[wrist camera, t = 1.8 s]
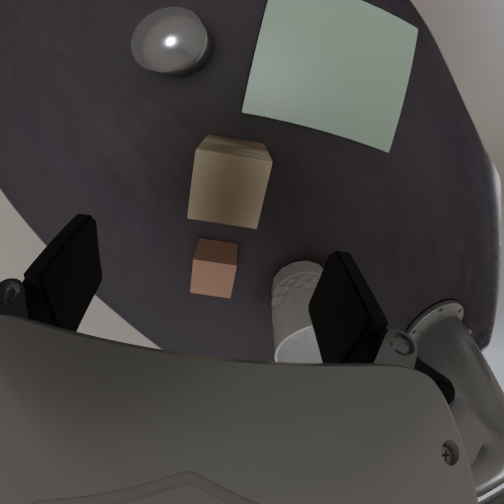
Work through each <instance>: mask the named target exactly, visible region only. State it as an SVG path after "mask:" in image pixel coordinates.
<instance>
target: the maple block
mask: <svg viewBox="0 0 504 504" xmlns="http://www.w3.org/2000/svg"><path fill="white" fill-rule="evenodd" d="M272 163H273V162H272V160H271V158H270V155H269V153H268V151H267V149H266V147H265V144H262V143H257V142H252V141H247V140H241V139H235V138H229V137H223V136H216V135H209V134H208V135H207V136H206V138H205V139H204V140H203V141H202V142H201V144H200V145H199V146H198V147H197V149H196V152H195V159H194V166H193V174H192V181H191V189H190V198H189V207H188V216H187V218H188V219H195V220H202V221H208V222H215V223H221V224H228V225H234V226H240V227H247V228H253V229H257V226H258V222H259V218H260V213H261V209H262V205H263V201H264V196H265V192H266V188H267V184H268V180H269V175H270V171H271V167H272Z"/></svg>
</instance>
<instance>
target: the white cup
mask: <svg viewBox="0 0 504 504" xmlns="http://www.w3.org/2000/svg"><path fill="white" fill-rule="evenodd" d="M323 269H324V268H323V267H322V266H321V265H320V264H317V263H314V262H311V261H298V262H293V263H291V264H289V265H287V266H285V267H283V268H281V269H280V271H279V272H278V273H277V274H276V275H275V276H274V278H273V282H272V287H271V293H272V325H273V340H274V358H275V362H293V363H323V362H322V359H321V355H320V351H319V347H318V344H317V340H316V336H315V333H314V329H313V325H312V322H311V318H310V315H309V311H308V305H309V302H310V299H311V297H312V295H313V293H314V290H315V288H316V286H317V283H318V281H319V279H320V276H321V274H322V271H323Z"/></svg>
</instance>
